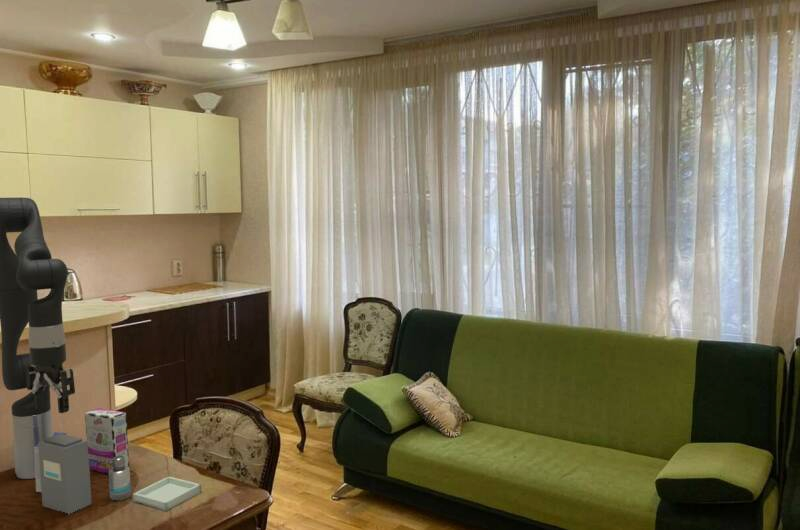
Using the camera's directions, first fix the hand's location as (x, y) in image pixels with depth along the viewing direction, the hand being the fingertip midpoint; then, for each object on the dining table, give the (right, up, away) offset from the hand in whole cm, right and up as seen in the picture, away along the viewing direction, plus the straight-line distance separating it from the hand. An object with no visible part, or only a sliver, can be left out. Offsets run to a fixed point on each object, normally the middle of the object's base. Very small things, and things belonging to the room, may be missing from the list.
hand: (52, 410), depth 155 cm
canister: (+13, -23, +7) cm, 28 cm away
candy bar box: (+3, -22, +24) cm, 33 cm away
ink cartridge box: (-5, -24, +12) cm, 27 cm away
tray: (+25, -23, +7) cm, 35 cm away
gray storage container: (+2, -24, +3) cm, 24 cm away
